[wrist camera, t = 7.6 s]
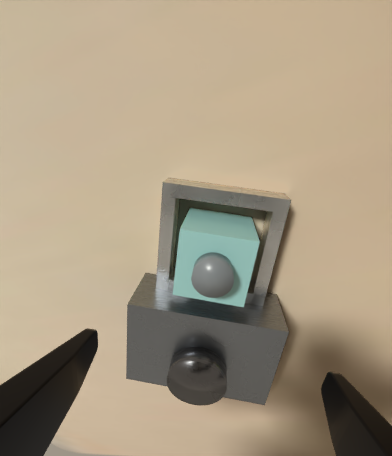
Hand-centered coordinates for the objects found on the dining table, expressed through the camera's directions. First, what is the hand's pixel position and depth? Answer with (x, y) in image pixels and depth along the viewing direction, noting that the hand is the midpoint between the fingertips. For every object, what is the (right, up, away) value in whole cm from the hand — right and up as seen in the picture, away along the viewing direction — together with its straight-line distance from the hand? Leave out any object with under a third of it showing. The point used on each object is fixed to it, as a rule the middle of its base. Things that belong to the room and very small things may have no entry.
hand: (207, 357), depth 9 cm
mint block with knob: (+1, +4, +11) cm, 12 cm away
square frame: (+1, 0, +13) cm, 13 cm away
